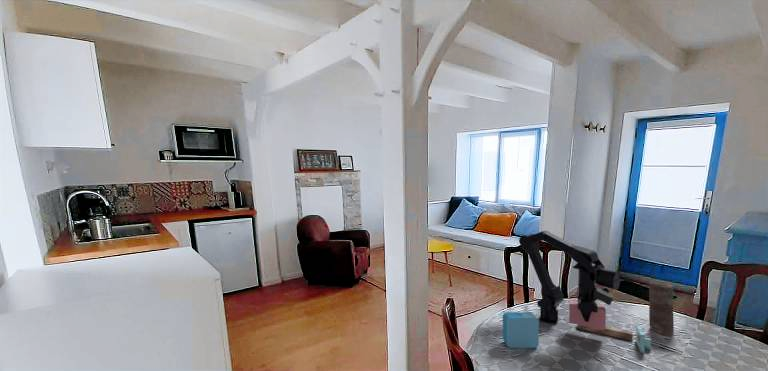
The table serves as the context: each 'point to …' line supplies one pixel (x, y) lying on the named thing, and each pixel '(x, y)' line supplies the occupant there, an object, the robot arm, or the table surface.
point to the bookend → (642, 340)
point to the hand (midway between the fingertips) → (586, 319)
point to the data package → (520, 330)
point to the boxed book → (594, 321)
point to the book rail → (609, 332)
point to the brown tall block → (661, 308)
